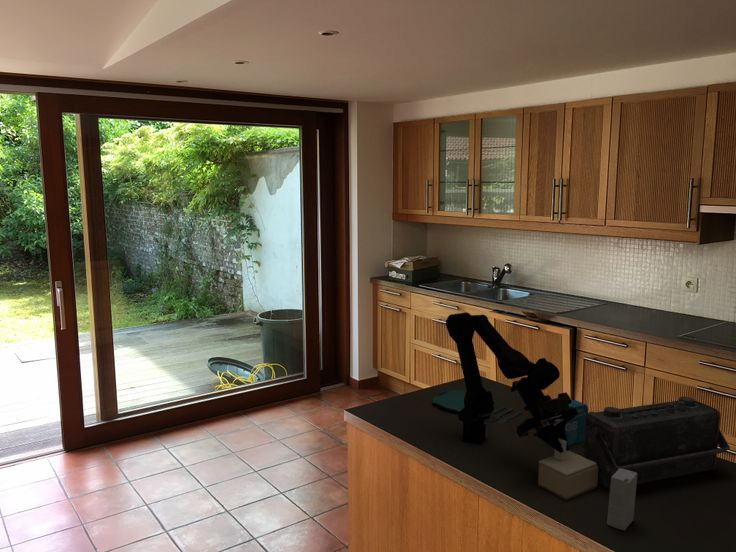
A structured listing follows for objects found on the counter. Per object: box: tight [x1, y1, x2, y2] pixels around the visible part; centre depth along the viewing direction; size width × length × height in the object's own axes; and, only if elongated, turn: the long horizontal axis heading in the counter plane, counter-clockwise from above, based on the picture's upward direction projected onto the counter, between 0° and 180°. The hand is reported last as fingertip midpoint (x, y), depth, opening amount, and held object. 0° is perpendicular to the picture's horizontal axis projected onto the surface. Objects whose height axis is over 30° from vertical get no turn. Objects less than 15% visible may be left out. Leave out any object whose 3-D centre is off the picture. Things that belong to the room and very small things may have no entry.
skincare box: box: [606, 468, 638, 531], centre depth 141 cm, size 6×4×12 cm
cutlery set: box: [431, 389, 523, 426], centre depth 214 cm, size 20×30×2 cm, turn 43°
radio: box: [582, 396, 731, 491], centre depth 164 cm, size 38×14×20 cm, turn 109°
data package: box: [550, 399, 589, 447], centre depth 186 cm, size 12×4×12 cm, turn 116°
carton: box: [537, 463, 598, 501], centre depth 159 cm, size 9×12×6 cm
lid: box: [538, 438, 597, 477], centre depth 158 cm, size 9×12×6 cm
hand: (564, 451), depth 159 cm, fingers closed on lid, 2 cm apart
